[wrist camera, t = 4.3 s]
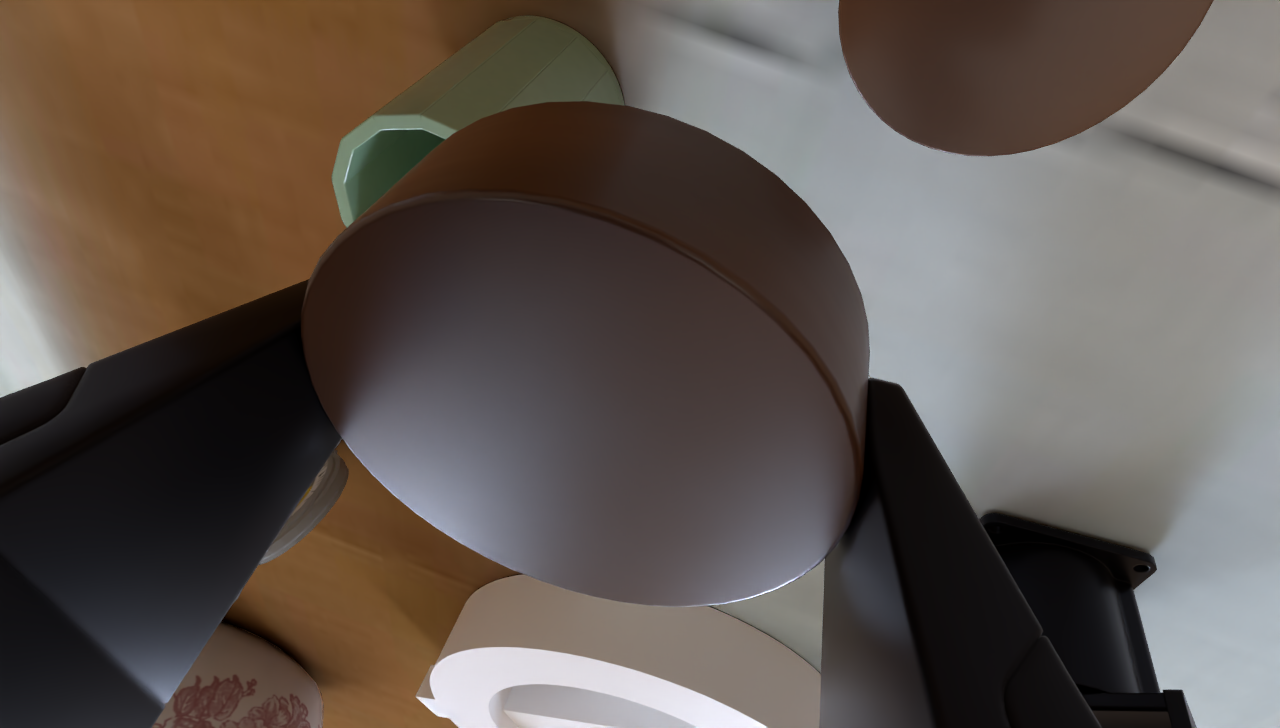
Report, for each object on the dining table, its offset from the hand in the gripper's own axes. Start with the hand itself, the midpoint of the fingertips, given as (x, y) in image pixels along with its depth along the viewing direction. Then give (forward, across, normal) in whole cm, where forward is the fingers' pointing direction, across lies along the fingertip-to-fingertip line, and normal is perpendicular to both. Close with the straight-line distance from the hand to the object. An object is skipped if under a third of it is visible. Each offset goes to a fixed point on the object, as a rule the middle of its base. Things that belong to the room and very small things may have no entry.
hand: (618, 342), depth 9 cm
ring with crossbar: (+13, 0, +44) cm, 46 cm away
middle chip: (+11, -5, -3) cm, 12 cm away
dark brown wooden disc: (0, 0, 0) cm, 0 cm away
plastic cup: (+13, +6, +3) cm, 15 cm away
